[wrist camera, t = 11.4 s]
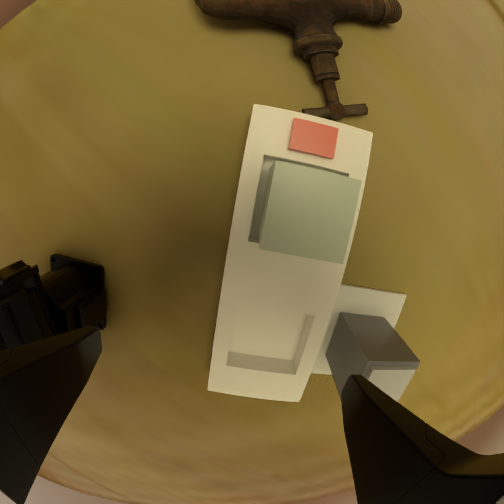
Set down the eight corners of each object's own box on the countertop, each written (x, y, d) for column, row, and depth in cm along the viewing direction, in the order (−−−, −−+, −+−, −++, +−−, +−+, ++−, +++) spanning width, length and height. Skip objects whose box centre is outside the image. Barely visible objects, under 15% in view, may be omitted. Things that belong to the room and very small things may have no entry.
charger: (325, 354, 23) (345, 412, 15) (340, 311, 22) (370, 364, 14) (367, 357, 23) (395, 410, 16) (384, 316, 22) (422, 364, 14)
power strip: (295, 380, 24) (299, 407, 20) (212, 369, 24) (206, 395, 20) (357, 138, 18) (377, 131, 15) (254, 114, 18) (253, 100, 15)
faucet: (367, -15, 14) (410, 117, 19) (190, -7, 14) (225, 141, 20) (387, -36, 10) (442, 114, 15) (181, -35, 10) (221, 137, 15)
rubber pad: (302, 369, 24) (302, 372, 23) (330, 281, 21) (331, 283, 21) (371, 373, 24) (372, 375, 23) (404, 293, 21) (406, 295, 21)
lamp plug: (258, 228, 19) (259, 248, 14) (270, 167, 18) (275, 160, 12) (318, 239, 19) (342, 264, 14) (331, 180, 18) (361, 180, 13)
